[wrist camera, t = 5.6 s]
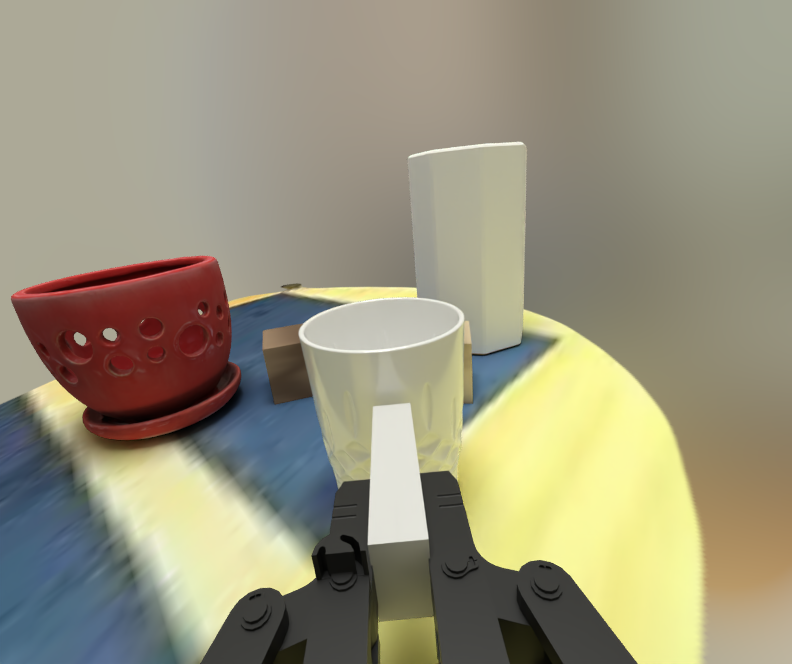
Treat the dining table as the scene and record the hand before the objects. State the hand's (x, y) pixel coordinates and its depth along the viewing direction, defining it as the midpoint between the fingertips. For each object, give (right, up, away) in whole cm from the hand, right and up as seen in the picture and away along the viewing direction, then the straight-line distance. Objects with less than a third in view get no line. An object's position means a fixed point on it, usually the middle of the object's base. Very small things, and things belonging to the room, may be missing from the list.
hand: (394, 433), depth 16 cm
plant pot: (-19, -3, +18) cm, 26 cm away
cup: (+8, +4, +27) cm, 29 cm away
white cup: (0, -5, +6) cm, 8 cm away
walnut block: (-8, -1, +19) cm, 21 cm away
